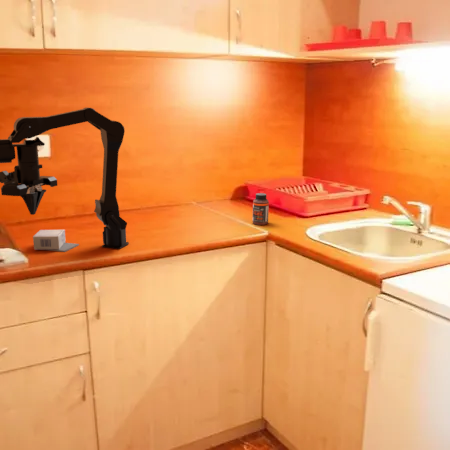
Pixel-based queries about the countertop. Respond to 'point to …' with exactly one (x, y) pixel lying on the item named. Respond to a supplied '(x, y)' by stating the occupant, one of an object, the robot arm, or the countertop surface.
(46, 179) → the robot arm
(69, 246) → the mat
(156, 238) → the countertop surface
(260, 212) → the supplement bottle
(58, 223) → the countertop surface
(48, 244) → the medicine box
